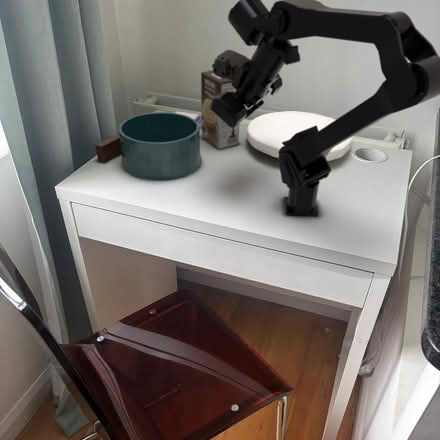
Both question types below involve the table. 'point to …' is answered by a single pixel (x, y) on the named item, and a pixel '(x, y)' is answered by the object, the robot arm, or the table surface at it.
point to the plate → (288, 131)
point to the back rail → (109, 148)
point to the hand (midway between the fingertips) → (231, 123)
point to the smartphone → (189, 114)
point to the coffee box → (211, 123)
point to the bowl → (160, 145)
